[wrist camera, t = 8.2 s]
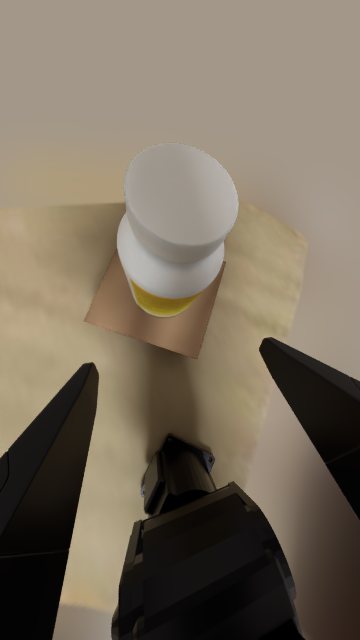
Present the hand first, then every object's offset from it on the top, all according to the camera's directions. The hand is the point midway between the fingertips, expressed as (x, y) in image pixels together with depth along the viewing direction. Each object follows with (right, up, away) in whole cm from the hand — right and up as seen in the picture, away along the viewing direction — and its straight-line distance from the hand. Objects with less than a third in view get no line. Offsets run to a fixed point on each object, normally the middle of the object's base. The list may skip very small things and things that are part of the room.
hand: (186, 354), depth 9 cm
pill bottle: (-2, +5, +9) cm, 11 cm away
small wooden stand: (-3, +5, +13) cm, 14 cm away
